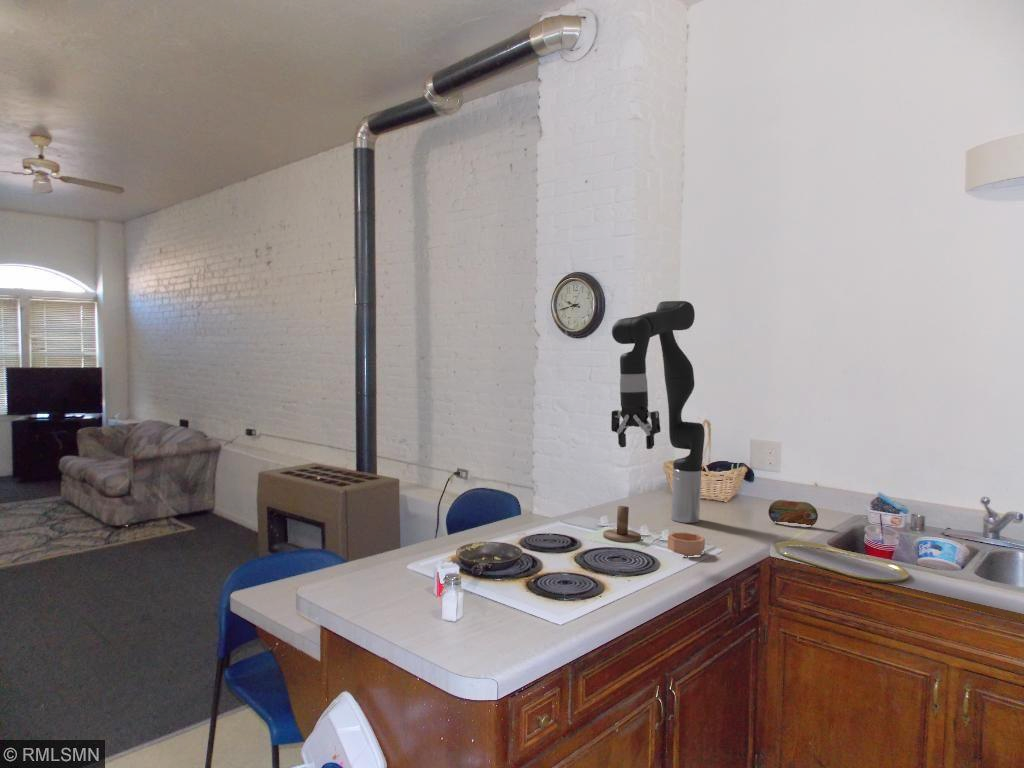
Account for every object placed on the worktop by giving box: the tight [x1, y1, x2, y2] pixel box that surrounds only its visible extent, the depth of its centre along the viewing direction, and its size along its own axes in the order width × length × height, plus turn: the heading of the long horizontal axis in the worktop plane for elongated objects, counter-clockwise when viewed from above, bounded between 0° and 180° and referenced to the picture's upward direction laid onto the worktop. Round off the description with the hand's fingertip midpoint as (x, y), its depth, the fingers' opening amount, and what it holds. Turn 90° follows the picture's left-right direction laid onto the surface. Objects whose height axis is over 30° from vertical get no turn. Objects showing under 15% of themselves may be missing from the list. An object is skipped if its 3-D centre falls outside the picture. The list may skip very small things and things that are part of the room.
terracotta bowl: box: [667, 531, 706, 557], centre depth 177 cm, size 9×9×4 cm
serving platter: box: [773, 540, 910, 584], centre depth 173 cm, size 19×35×2 cm, turn 31°
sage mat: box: [580, 526, 660, 551], centre depth 187 cm, size 18×18×1 cm
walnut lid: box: [603, 505, 641, 543], centre depth 187 cm, size 11×11×9 cm
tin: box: [767, 499, 819, 527], centre depth 213 cm, size 15×3×8 cm, turn 68°
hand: (636, 447), depth 178 cm, fingers open, 8 cm apart
